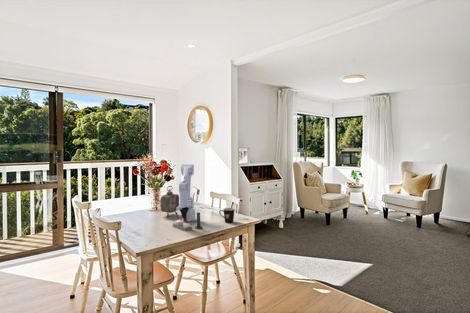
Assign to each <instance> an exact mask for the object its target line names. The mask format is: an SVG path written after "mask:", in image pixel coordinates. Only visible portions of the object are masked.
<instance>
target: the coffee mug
mask: <svg viewBox="0 0 470 313" xmlns="http://www.w3.org/2000/svg"><path fill="white" fill-rule="evenodd" d="M221 212H223V215H224V216H223V215H222V213H221ZM218 213H219V214H220V216H221V217H222V218H223V219H224V223H226V224H232V223H234V218H235V208H233V207H224V208H223V209H220V210H219V212H218Z"/></svg>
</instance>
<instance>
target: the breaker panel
mask: <svg viewBox="0 0 470 313" xmlns="http://www.w3.org/2000/svg"><path fill="white" fill-rule="evenodd" d="M180 221H181V219H178V220H174V223H172V227H173V228H176V229H179V230H181V231H183V232H189V231H192V230H193V226H192V225H190V224H191V223H189V222H188V223H183V225H179V222H180Z"/></svg>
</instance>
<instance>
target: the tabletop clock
mask: <svg viewBox="0 0 470 313" xmlns="http://www.w3.org/2000/svg"><path fill="white" fill-rule="evenodd" d="M169 187H170V188H171V189H170V188H169ZM166 191H167V192H166V194H163V195H162V196H160V199H159V200H160V201H159V202H160V203H159V204H160V211H161V212H163V213H166V215H167V216H166V217H167V218H169V217H170V214H172V213H175V215H178V210H176V207H178V206H179V205H180V194H175V193H173V186H172V185H168V186H167V188H166Z"/></svg>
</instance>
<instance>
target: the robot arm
mask: <svg viewBox="0 0 470 313" xmlns="http://www.w3.org/2000/svg"><path fill="white" fill-rule="evenodd" d="M180 173H181V175H182V176H181V178H180V182H179V184H178V192H179V206H178V207H176V210H177V211H179V212H180V215H181V217H182V219H180V221H183V218H186V215H187V221H188V223H189V222H192V221H197V218H196V209H195V208H194V207H195V200H194V198H193V197H192V196H191V181H192V180H191V178H192V176H194V175H195V165H194V164H193V163H191V164H181V165H180Z"/></svg>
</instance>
